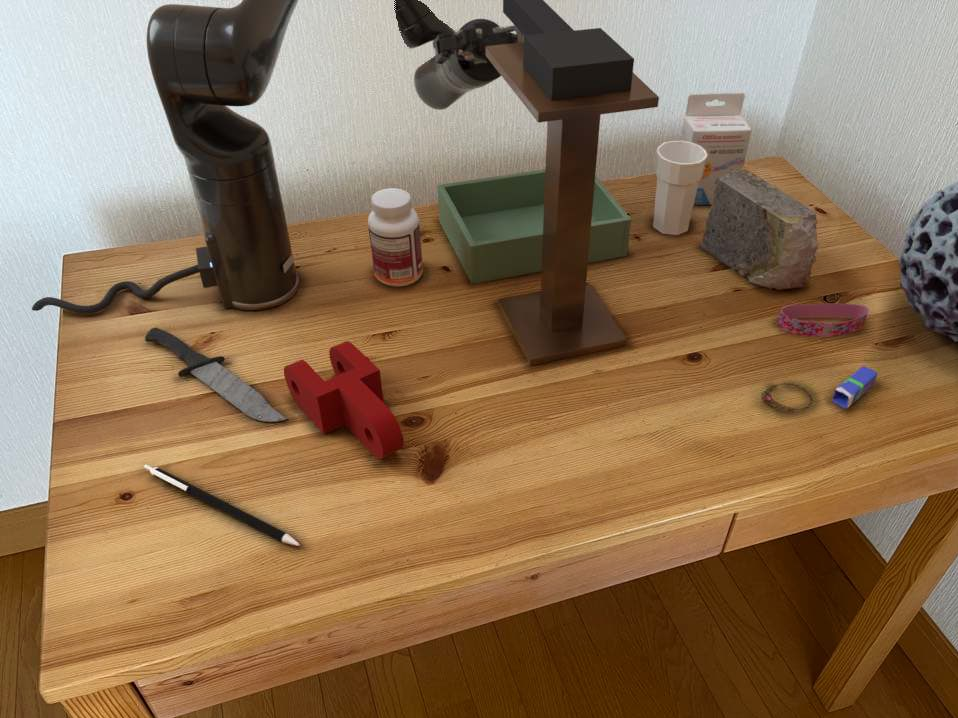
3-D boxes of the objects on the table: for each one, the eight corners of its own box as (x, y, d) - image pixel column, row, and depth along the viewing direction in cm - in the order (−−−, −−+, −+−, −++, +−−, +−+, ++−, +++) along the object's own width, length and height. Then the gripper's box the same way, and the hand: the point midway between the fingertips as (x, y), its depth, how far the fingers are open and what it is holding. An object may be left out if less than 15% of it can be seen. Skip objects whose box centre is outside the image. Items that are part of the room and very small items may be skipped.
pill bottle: (397, 255, 113) (389, 179, 105) (433, 271, 110) (428, 195, 103) (364, 276, 109) (354, 199, 101) (400, 294, 106) (393, 216, 99)
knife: (260, 440, 88) (299, 415, 91) (258, 433, 87) (297, 408, 90) (134, 344, 97) (172, 323, 100) (131, 336, 97) (170, 316, 100)
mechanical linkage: (288, 394, 93) (280, 357, 89) (347, 369, 96) (341, 333, 93) (363, 478, 83) (357, 441, 80) (425, 447, 87) (422, 410, 84)
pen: (150, 462, 84) (142, 460, 83) (304, 541, 78) (298, 540, 77) (146, 471, 84) (138, 469, 83) (300, 550, 78) (293, 549, 77)
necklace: (751, 392, 95) (753, 385, 94) (799, 381, 97) (801, 374, 96) (770, 418, 92) (773, 412, 92) (819, 406, 94) (822, 400, 93)
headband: (876, 322, 102) (871, 336, 103) (865, 301, 105) (860, 316, 106) (786, 324, 101) (782, 339, 103) (778, 304, 104) (774, 318, 106)
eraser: (835, 388, 93) (851, 396, 92) (862, 364, 97) (878, 372, 96) (830, 401, 95) (847, 410, 94) (857, 377, 98) (873, 385, 97)
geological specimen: (710, 174, 109) (796, 229, 100) (745, 163, 112) (831, 216, 103) (695, 245, 117) (774, 303, 108) (728, 233, 119) (808, 289, 110)
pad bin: (471, 284, 108) (470, 246, 105) (439, 221, 119) (437, 184, 115) (627, 256, 114) (631, 219, 110) (583, 198, 125) (585, 163, 121)
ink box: (680, 207, 124) (696, 109, 114) (671, 189, 127) (686, 93, 117) (736, 204, 125) (757, 107, 115) (726, 187, 128) (746, 91, 118)
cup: (682, 243, 117) (694, 169, 109) (638, 228, 119) (648, 155, 112) (701, 221, 121) (715, 149, 114) (659, 208, 124) (670, 136, 116)
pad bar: (551, 100, 79) (552, 67, 77) (481, 16, 94) (480, -13, 91) (631, 90, 81) (634, 58, 79) (549, 10, 96) (550, -19, 94)
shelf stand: (530, 366, 97) (538, 112, 77) (487, 287, 108) (485, 45, 88) (626, 345, 101) (659, 96, 80) (576, 270, 111) (593, 34, 91)
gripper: (417, 30, 110) (443, 0, 95) (522, 20, 114) (563, -10, 99) (427, 92, 112) (454, 72, 97) (530, 80, 116) (572, 59, 101)
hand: (509, 31), depth 98 cm, fingers open, 8 cm apart
